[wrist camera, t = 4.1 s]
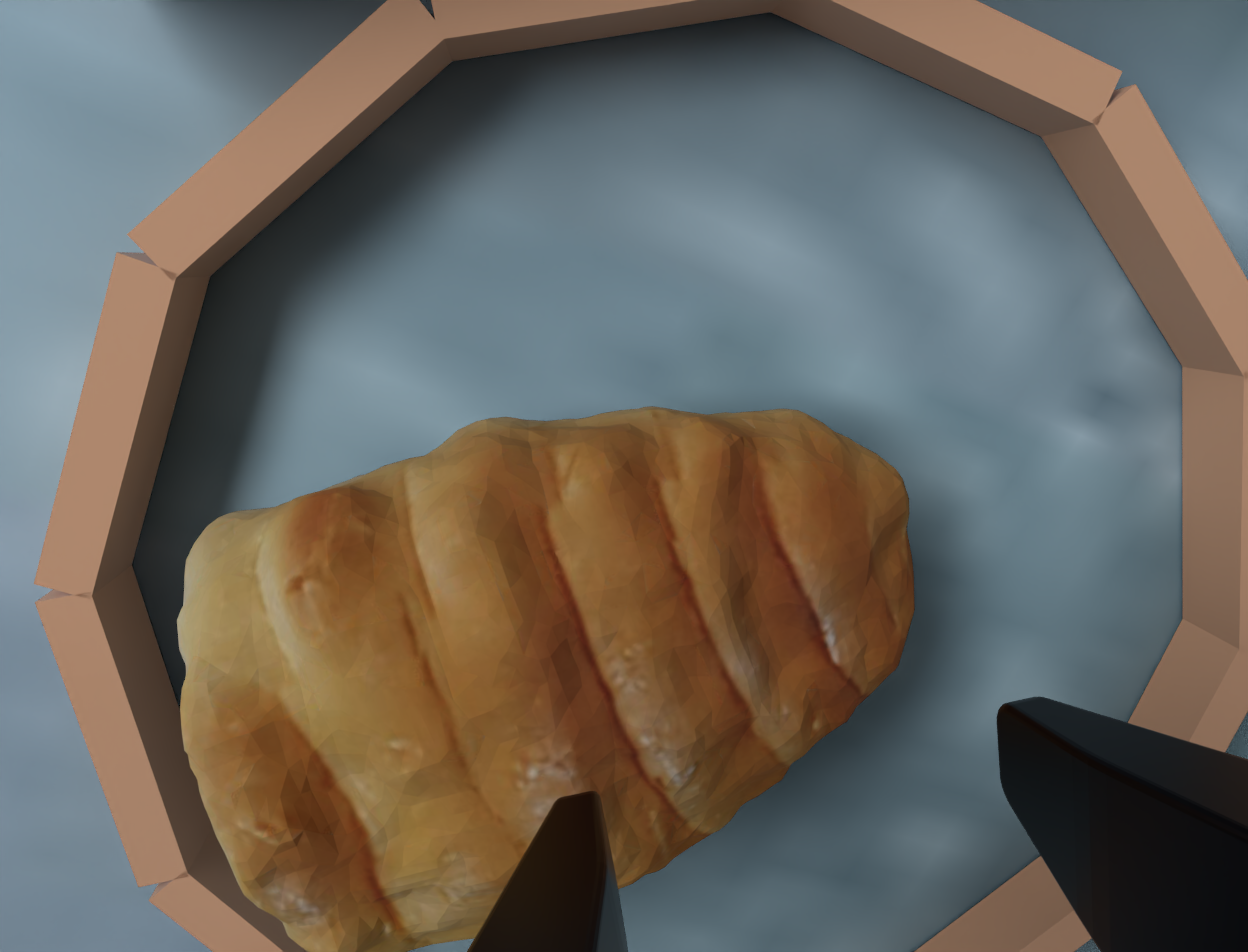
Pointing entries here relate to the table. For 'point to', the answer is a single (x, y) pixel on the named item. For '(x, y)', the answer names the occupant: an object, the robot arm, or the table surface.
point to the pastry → (529, 654)
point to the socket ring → (560, 14)
